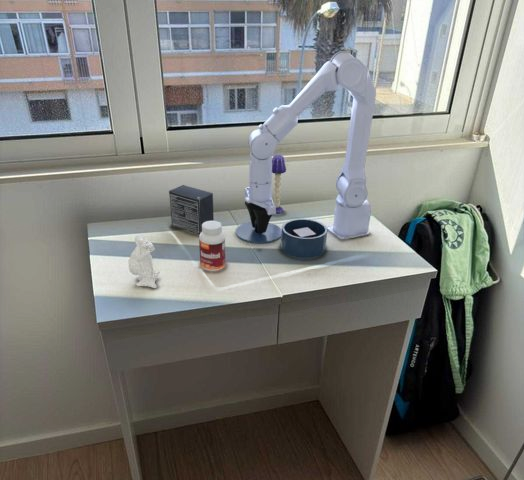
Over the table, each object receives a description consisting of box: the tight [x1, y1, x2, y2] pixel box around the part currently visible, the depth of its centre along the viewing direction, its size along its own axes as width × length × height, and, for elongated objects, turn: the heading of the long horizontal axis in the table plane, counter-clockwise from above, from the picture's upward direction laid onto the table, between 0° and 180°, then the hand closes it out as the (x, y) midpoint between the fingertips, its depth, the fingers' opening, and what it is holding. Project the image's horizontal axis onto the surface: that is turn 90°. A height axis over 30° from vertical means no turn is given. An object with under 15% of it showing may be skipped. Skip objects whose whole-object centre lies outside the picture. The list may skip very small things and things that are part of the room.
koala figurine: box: [128, 236, 160, 289], centre depth 117 cm, size 8×7×12 cm
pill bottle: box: [198, 220, 226, 272], centre depth 124 cm, size 6×6×11 cm
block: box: [292, 227, 316, 238], centre depth 134 cm, size 4×4×4 cm
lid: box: [235, 218, 282, 245], centre depth 140 cm, size 13×13×5 cm
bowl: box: [280, 218, 329, 259], centre depth 134 cm, size 12×12×6 cm
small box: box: [168, 184, 215, 236], centre depth 140 cm, size 11×6×10 cm, turn 58°
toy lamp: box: [272, 154, 287, 215], centre depth 148 cm, size 5×5×17 cm
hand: (259, 229), depth 140 cm, fingers open, 3 cm apart
